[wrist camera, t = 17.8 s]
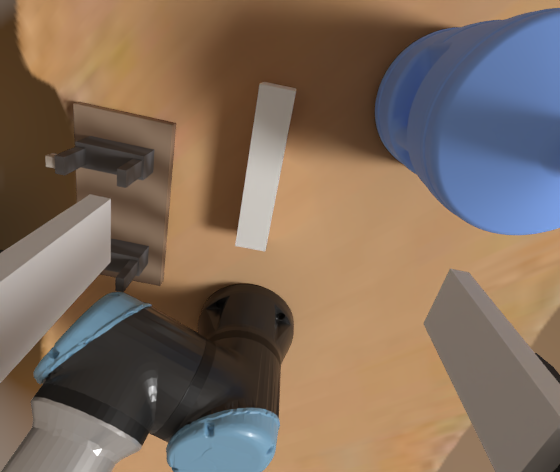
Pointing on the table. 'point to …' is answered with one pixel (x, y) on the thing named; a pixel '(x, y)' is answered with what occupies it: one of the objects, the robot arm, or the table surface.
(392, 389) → the table surface
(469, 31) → the water jug
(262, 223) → the white slab
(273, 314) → the robot arm
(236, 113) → the table surface
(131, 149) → the cable cradle
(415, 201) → the table surface
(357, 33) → the table surface
